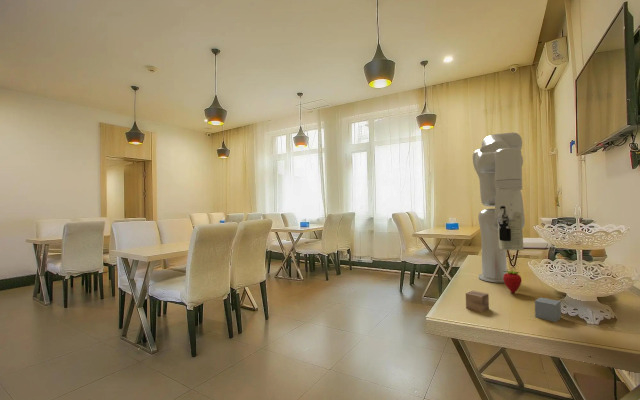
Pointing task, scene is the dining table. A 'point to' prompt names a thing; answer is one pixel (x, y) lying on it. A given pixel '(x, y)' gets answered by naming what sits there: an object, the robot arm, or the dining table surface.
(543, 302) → the slate block
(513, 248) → the skincare box
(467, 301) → the walnut block
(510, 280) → the strawberry
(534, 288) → the dining table surface
